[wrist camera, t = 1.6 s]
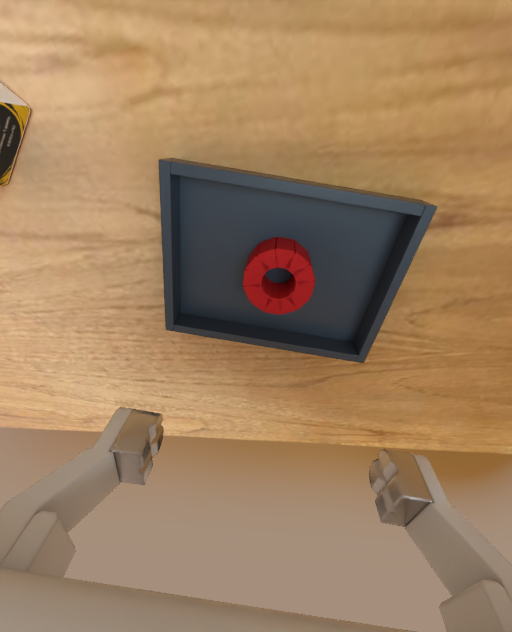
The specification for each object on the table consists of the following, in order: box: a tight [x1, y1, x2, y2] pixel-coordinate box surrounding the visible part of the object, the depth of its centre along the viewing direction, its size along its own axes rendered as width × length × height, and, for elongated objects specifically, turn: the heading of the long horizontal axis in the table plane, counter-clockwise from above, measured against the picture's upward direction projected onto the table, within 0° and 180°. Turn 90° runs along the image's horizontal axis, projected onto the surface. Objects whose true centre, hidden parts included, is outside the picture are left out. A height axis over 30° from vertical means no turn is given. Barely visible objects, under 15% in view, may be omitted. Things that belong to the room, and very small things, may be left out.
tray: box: [159, 158, 437, 363], centre depth 24 cm, size 20×15×3 cm
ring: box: [243, 237, 315, 315], centre depth 23 cm, size 6×6×3 cm
